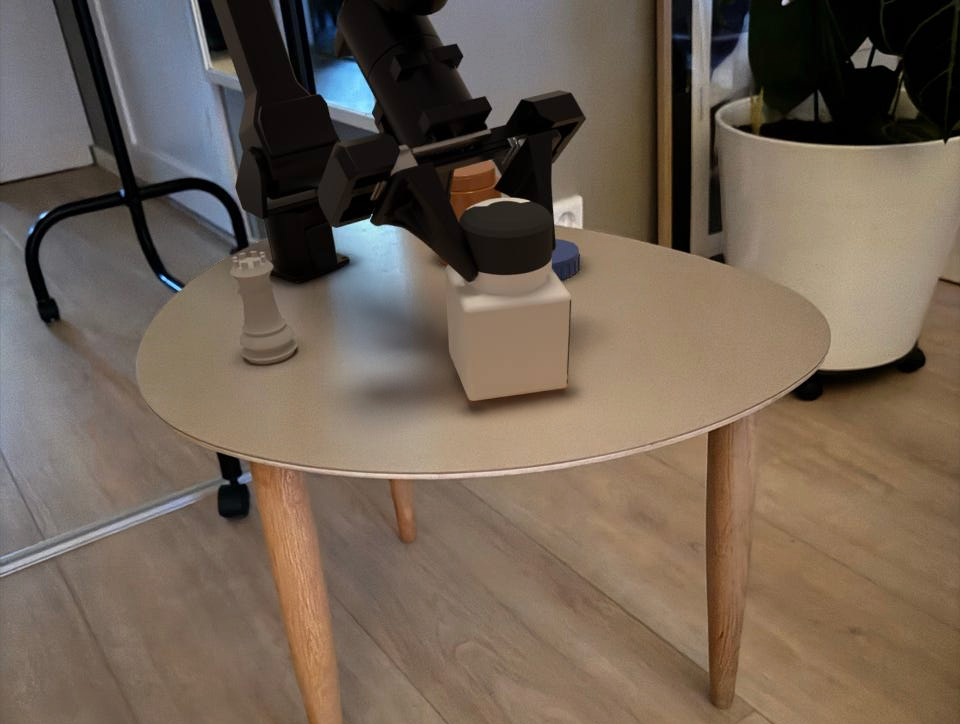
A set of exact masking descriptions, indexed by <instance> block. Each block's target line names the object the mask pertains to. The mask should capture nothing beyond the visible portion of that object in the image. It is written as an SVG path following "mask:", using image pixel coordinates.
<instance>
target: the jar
mask: <svg viewBox="0 0 960 724" xmlns="http://www.w3.org/2000/svg"><path fill="white" fill-rule="evenodd" d="M500 178H501V177H499V176H497V172H496V165H495V163H494V162H492V160H488V161H484V162H480V163H477V164H473V165H469V166H466V167H462V168H458V169H455V170H454V175H453V181H452V186H451V200H450V203H451V205H452V208H453V210H454V212H455V214H456V217H457V219H458V221H459V219H460V217H461V215H462V214H463V213H464V211H465V210H466V209H468V208H469V207H471V206H473V205H475V204H477V203H480V202H482V201H485V200H489V199H495V198H503V197H502V193H501V192H498V191H496V190H495V189H494V187H495V185H496V184H497V182H498V181H499V179H500ZM438 261H439V262H440V263H441V264H442V265H445V267H446V266H448V264H447V263H446V262H445V261H444V260H443V259H442V258H440V257H439V256H438Z"/></svg>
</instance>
